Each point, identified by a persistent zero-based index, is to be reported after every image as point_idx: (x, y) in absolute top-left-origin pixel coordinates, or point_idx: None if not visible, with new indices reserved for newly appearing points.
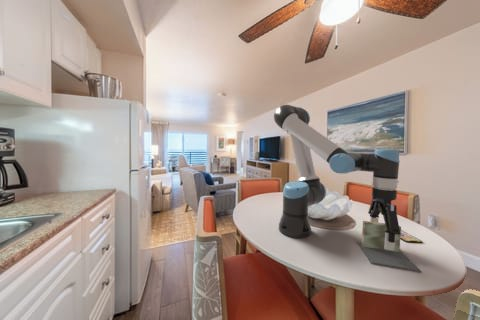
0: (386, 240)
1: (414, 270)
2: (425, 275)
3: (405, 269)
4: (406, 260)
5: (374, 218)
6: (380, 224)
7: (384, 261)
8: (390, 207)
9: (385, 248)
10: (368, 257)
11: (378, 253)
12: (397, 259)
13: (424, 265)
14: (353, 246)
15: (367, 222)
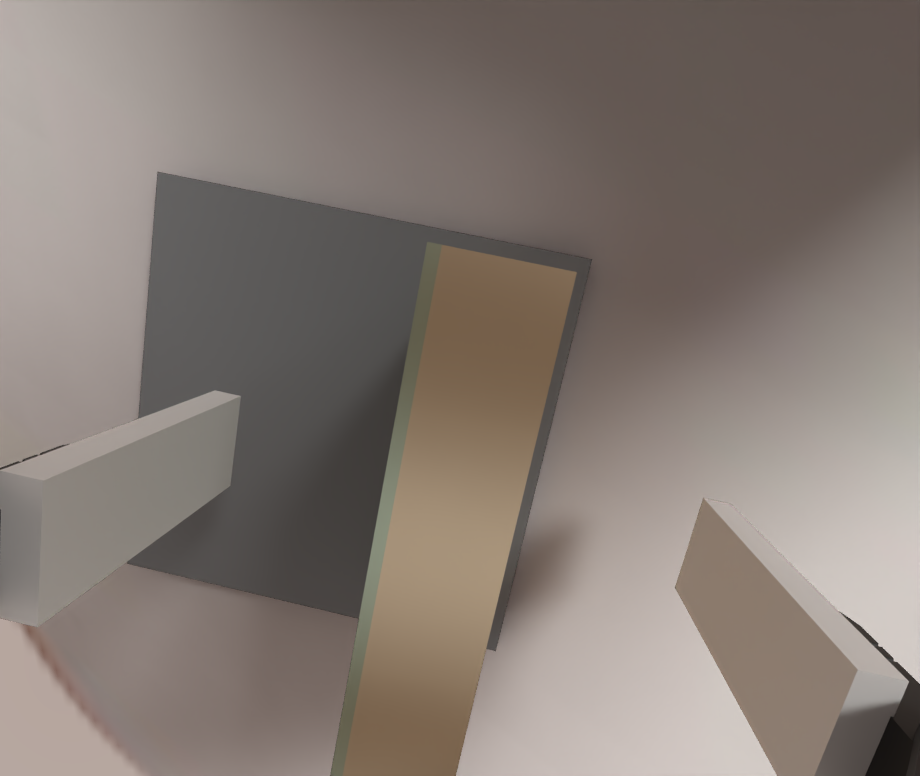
0: (132, 429)
1: None
2: None
3: None
4: (260, 556)
5: (828, 734)
6: (378, 604)
7: (196, 324)
8: None
9: (206, 394)
10: (237, 188)
11: (343, 359)
12: (260, 483)
13: (248, 662)
14: (502, 155)
15: (462, 339)
